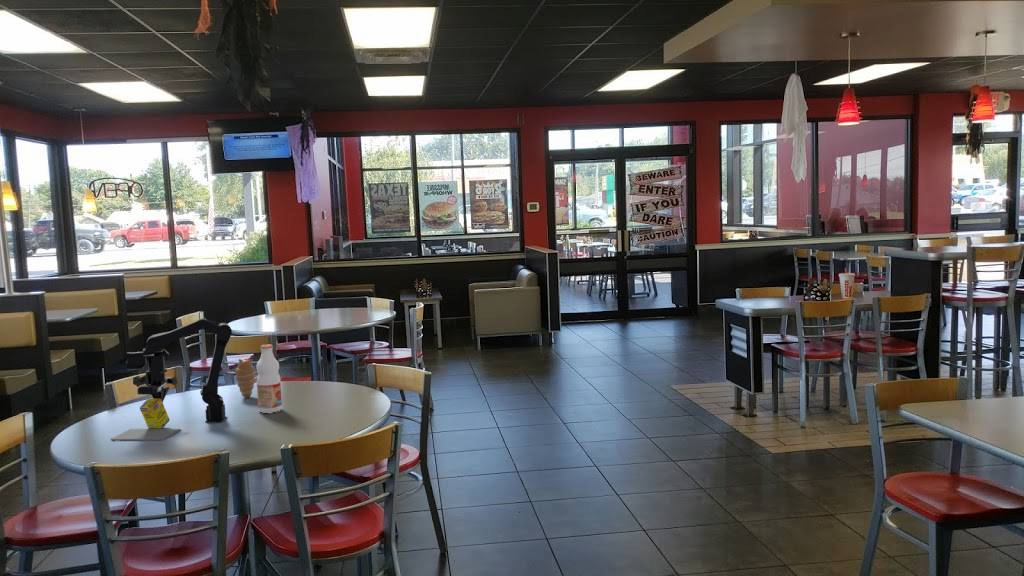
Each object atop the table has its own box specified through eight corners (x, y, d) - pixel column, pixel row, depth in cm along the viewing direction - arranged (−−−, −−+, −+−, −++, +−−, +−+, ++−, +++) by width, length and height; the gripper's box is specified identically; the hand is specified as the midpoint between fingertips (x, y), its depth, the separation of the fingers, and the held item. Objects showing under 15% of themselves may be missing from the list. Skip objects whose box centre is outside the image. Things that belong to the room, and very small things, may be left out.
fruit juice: (257, 410, 321) (253, 344, 318) (280, 407, 325) (276, 342, 322) (260, 415, 312) (256, 348, 309) (283, 412, 316) (280, 345, 313)
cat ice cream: (252, 394, 348) (250, 355, 347) (260, 397, 343) (257, 358, 341) (233, 398, 342) (231, 358, 341) (241, 401, 337) (238, 361, 335)
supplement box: (162, 430, 293) (152, 408, 288) (148, 429, 295) (138, 407, 289) (170, 420, 299) (161, 398, 293) (156, 419, 300) (147, 397, 294)
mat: (180, 430, 293) (180, 428, 293) (163, 440, 280) (163, 439, 280) (130, 430, 294) (130, 428, 294) (110, 440, 281) (110, 439, 281)
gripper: (149, 362, 305) (152, 401, 306) (122, 372, 286) (125, 413, 288) (176, 362, 304) (178, 401, 306) (151, 372, 285) (153, 413, 287)
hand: (159, 407), depth 297 cm, fingers closed
